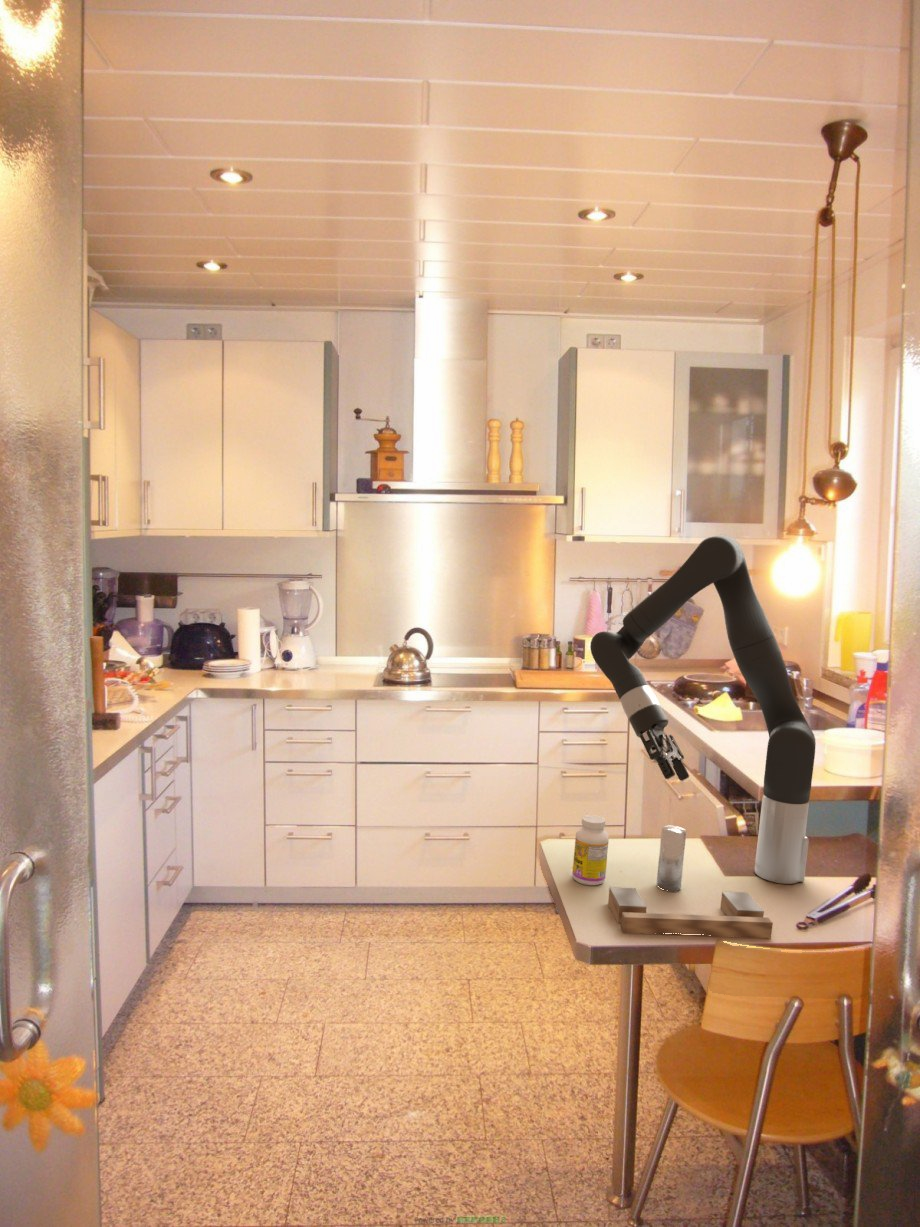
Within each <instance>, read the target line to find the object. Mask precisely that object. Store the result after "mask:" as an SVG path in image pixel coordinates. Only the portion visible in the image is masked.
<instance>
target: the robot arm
mask: <svg viewBox="0 0 920 1227" xmlns="http://www.w3.org/2000/svg"><path fill="white" fill-rule="evenodd" d="M748 568H749V567H748V564H747V560H746V558H745V552H744V549H743V548H742V546H741V544H740V542H739V541H738V540H736V539H735V538H734V537H733V536H730V535H726V534H717V535H712V536H709V537H706V538H704V539H703V540H702V541H700V543H699V544H698V546H697V547H696V548H695V549H694V551H692V553H691V555H689V557H688V558H687V559H686V560H685V562H684V563H683V564H682V565H681V566H680V567H679V568H678V570H676V571H675V573H674V574H672V575H671V576H670V577H669V578H668V579H667V580H666V581H664V583H662V584H661V585H660V586H659V587H657V589H655V590H653V592H651V593H650V594H649V595H648V596H646V597H645V598H644V599H643V600H641V602H639V603H638V604H637V605H636V606H635V607H634V608H632V609H631V610H630V611H629V612H628V613H627V614H625V616H624V617H623V619H622V625H623V626H622V627H621V628H620V629H619V630H618V631H617V632H611V631H608V630H607V631H606V630H605V631H599V632H597V633H596V634H595V635H593V637H592V639H591V641H590V653H591V655H592V658H593V661H594V662H595V664H596V665H597V667H598V668H599V669H600V671H601V672H602V673H603V674H604V676H605V677H606V678H607V679H608V680H609V682H610V683H611V684H612V687H613V688H614V691H615V693H616V695H617V697H618V699H619V701H620V703H621V706H622V710H623V712H624V714H625V715H626V717H627V719H628V721H629V723H630V726H631V728H632V729H633V731H634V733H635V735H636V737H638V738H640V740H641V742H642V744H643V747H644V748H645V750H646V752H647V755H648V756H649V759H650V760H651V761H654V762H655V763H656V764H657V765H658V767H659V770H660V771H661V774H662V775H663V777H664V779H665V780H669V779H671V778H673V777H675V775H676V776H677V778H678V779H679V781H680V782H683V781H685V780H687V779H689V778H690V774H689V772H688V771H687V770H688V769H687V768H686V766H685V765H684V762H683V760H684V759H685V757H684V754H683V752H682V751H681V748H680V746H679V745H678V743H677V741H676V740H675V738H674V736H673V735H672V734H667V733H666V732H665V728H666V727H667V726H668V724H669V719H668V718H667V716H666V714H665V712H664V710H663V708H662V706H661V705H660V702H659V700H658V699H657V696H656V695H655V694H654V692H653V690H652V689H651V687H650V686H649V684H648V682H647V680H646V678H645V676H644V675H643V673H642V671H641V669H640V668H639V667H638V666H636V665H635V664H633V663H632V662H630V659H631V658H633V656H635V655H636V653H637V652H638V650H639V649H641V647H642V646H643V645H644V643H645V641H646V640H647V639H648V638H649V637H651V636H652V635H653V634H654V633H655V632H657V631H658V630H659V629H661V628H662V626H664V625H665V624H666V623H667V622H669V620H670V619H672V618H673V617H674V615H675V614H676V613H677V612H678V611H679V610H681V608H682V607H683V606H684V605H686V603H687V602H688V601H689V600H691V599H692V598H693V597H694V596H696V595H697V594H698V593H699V592H700V591H703V590H704V589H706V588H707V587H709V586H711V585H712V584H713V585H714V587H715V589H716V592H717V594H718V596H719V599H720V602H721V605H722V609H723V616H724V623H725V630H726V635H727V639H728V643H729V646H730V650H731V651H732V654H733V656H734V660H735V662H736V665H737V667H738V669H739V671H740V673H741V675H742V677H743V679H744V681H745V683H746V684H747V686H748V688H749V689H750V690H751V692H752V694H753V695H754V697H755V699H756V701H757V703H758V704H759V707H760V708H761V709H760V710H761V712H762V715H763V718H764V721H765V725H766V728H767V733H768V741H767V748H766V757H765V764H764V765H765V768H764V777H763V790H762V800H761V808H760V809H761V810H760V817H759V825H758V826H759V827H758V836H757V844H756V845H757V846H756V851H755V861H754V874H756V875H757V876H758V877H760V878H761V879H764V880H766V881H769V882H771V883H777V884H783V885H787V884H788V885H791V884H797V883H800V882H805V874H806V867H807V866H806V865H807V858H808V849H809V841H810V840H809V837H808V836H807V835H806V832H807V831H806V830H807V823H808V813H809V804H810V799H811V798H810V796H811V791H812V790H811V789H812V781H813V775H814V774H813V773H814V766H815V756H816V746H817V745H816V737H815V734H814V732H813V730H812V728H811V727H810V725H809V722H808V721H807V719H806V718H805V715H804V714H803V712H802V710H801V708H800V706H799V704H798V702H797V700H796V697H795V695H794V692H793V689H792V685H791V682H790V677H789V674H788V670H787V668H786V663H785V660H784V657H783V655H782V651H781V648H780V646H779V644H778V641H777V638H776V636H775V633H774V630H773V628H772V627H771V624H770V622H769V620H768V618H767V615H766V613H765V611H764V608H763V606H762V604H761V602H760V601H759V599H758V596H757V594H756V591H755V588H754V587H753V582H752V579H751V575H750V572H749V569H748Z"/></svg>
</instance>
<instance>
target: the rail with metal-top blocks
mask: <svg viewBox="0 0 920 1227" xmlns="http://www.w3.org/2000/svg"><path fill="white" fill-rule="evenodd" d="M608 891H609V892H608V901H607V904H608V906H609V908H610V910H611V913H612V915H613V916H614V919H615V920H616V922H617V923H618V924H620V929H621V931H622V933H623V934H631V933H633V934H634V933H645V934H644V935H658V934H663V933H664V934H665V933H672V934H673V933H674V934H675V933H677V934H678V933H679V934H680V933H681V934H701V935H702V934H704V935H711V936H710V937H715V936H716V937H717V938H718V937H719V938H744V939H745V938H746V939H747V938H748V939H749V938H751V939H752V938H753V939H772V934H773V933H772V932H773V924H774V922H773V921H772V920H771V919H770V918H769V917H765V916H764V915H765V911H764V909H763V908H762V907H761V906H760V905H759V904H758V903H757V901H755V899H754V898H753V897H752V896H751V895H750V893H749V892H745V891H744V892H743V891H721V900H720V909H721V911H722V912H723V913H724V914H725V915H713V914H712V915H711V914H709V915H707V914H685V913H683V914H681V913H658V912H657V913H653V912H651V913H649V912H647V905H646V904H645V902H644V900H643V898H642V897H641V894H639V892H638V890H637V889H636V887H613V886H609V888H608ZM647 933H648V934H647ZM649 933H650V934H649ZM655 933H656V934H655ZM633 934H632V935H633ZM634 935H635V934H634Z"/></svg>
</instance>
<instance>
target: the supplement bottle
mask: <svg viewBox="0 0 920 1227" xmlns="http://www.w3.org/2000/svg"><path fill="white" fill-rule="evenodd" d="M581 825H582V827H580V828H578V829H577V831H575V842H574V853H573V862H572V863H573V864H572V878H573V879H574V881H576V882H577V883H579V884H582V885H585V886H597V885H601V884H603V883H604V882H605V880H606V874H607V873H606V872H607V862H608V861H607V860H608V853H609V852H608V851H609V839H610V836H609V834H608V832H607V831H606V830H605V827H606V819H605V818H604V817H602V816H599V815H595V814H586V815H583V816H582V817H581Z"/></svg>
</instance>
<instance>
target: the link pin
mask: <svg viewBox="0 0 920 1227" xmlns="http://www.w3.org/2000/svg"><path fill="white" fill-rule="evenodd" d="M660 833H661V834H660V844H659V854H658V865H657V866H658V867H657V874H656V875H657V876H656V884H657V886H659V887H660V888H662V889H664V890H668V891H677V892H679V891H678V890H680V889H681V888H682V881H683V880H682V878H683V869H684V868H683V867H684V859H685V852H686V851H685V848H686V839H687V830H686V829H685V828H683V827H681V826H676V825H672V824H671V825H670V824H669V825H663V826H662V827H661V832H660ZM657 886H656V887H657ZM664 890H663V891H664ZM681 890H682V889H681ZM681 890H680V891H681ZM668 891H667V892H668Z"/></svg>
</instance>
